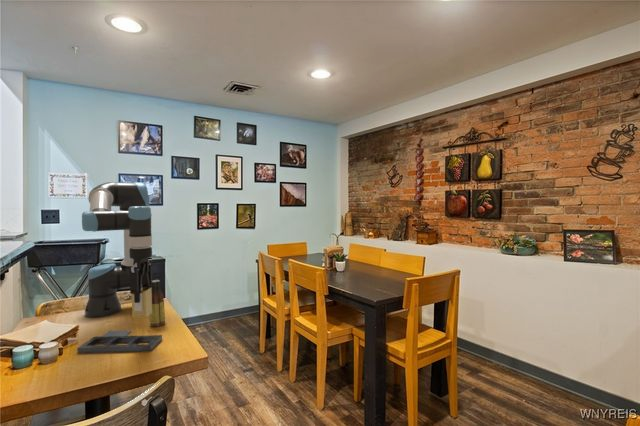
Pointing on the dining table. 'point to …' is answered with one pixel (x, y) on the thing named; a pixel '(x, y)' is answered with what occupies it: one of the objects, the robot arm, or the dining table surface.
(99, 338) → the grey slotted tray
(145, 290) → the tan block
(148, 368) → the dining table surface
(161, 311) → the sauce bottle
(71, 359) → the dining table surface
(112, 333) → the tile
